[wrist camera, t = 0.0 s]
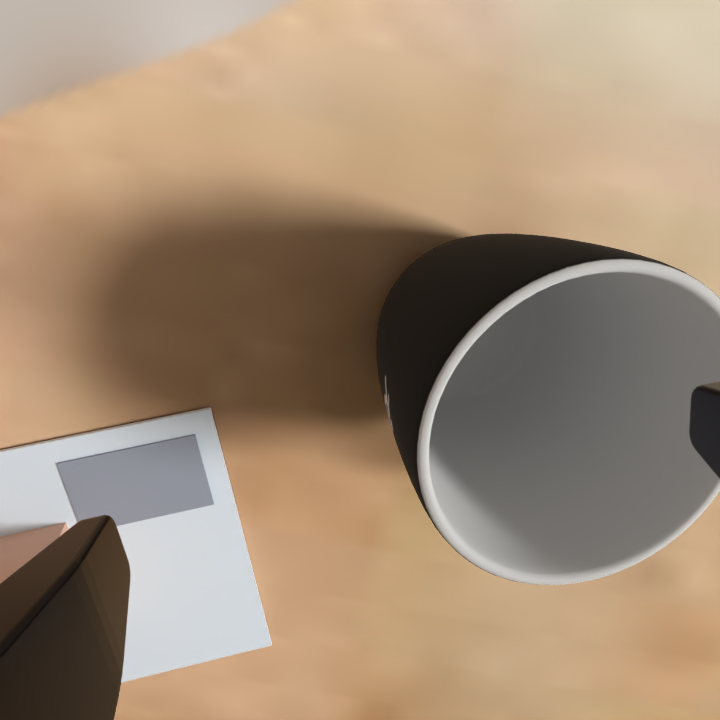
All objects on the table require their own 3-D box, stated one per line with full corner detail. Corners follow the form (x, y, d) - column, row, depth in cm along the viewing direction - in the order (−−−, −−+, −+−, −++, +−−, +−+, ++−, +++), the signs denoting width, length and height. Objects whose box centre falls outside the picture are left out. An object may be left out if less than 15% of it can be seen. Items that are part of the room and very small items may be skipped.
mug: (302, 310, 23) (339, 426, 14) (492, 158, 23) (666, 172, 13) (470, 509, 28) (585, 700, 18) (634, 387, 27) (841, 520, 18)
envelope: (271, 642, 28) (271, 646, 28) (-147, 745, 26) (-151, 752, 26) (210, 406, 24) (210, 410, 24) (-295, 510, 22) (-302, 514, 22)
